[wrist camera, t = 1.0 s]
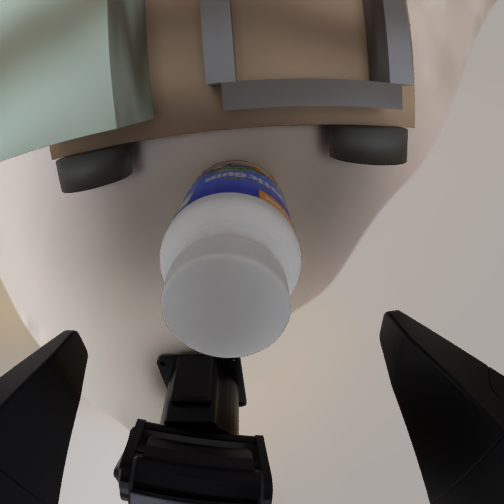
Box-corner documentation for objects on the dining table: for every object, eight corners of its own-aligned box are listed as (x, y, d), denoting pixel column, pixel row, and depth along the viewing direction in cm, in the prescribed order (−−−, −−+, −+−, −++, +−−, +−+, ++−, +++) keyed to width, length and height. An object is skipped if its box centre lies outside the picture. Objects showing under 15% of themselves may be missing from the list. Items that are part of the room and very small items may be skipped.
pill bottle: (297, 179, 17) (351, 266, 9) (261, 260, 20) (274, 386, 11) (205, 145, 16) (161, 199, 8) (176, 231, 19) (127, 346, 10)
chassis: (401, 151, 17) (466, 180, 11) (69, 179, 17) (6, 219, 11) (382, -59, 10) (432, -101, 4) (54, -25, 10) (-6, -51, 4)
